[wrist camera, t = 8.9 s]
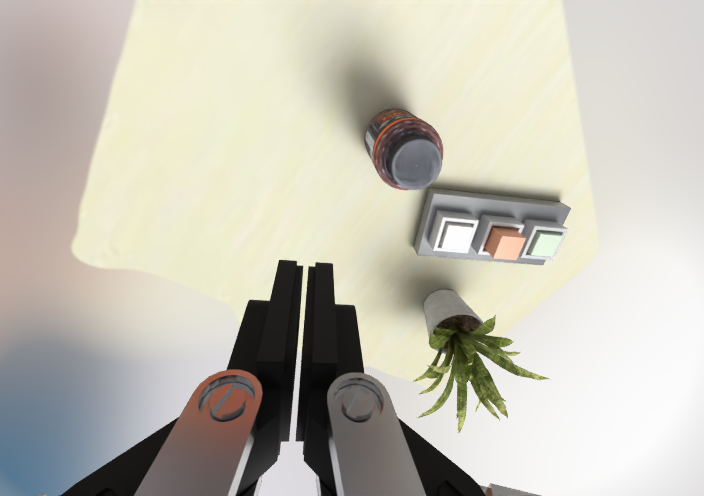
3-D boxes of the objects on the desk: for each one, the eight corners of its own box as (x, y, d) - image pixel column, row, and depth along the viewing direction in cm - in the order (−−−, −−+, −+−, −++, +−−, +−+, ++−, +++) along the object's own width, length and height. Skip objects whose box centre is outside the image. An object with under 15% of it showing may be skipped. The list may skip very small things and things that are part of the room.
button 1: (441, 216, 37) (448, 225, 35) (464, 218, 38) (473, 227, 36) (435, 237, 39) (442, 247, 37) (457, 239, 39) (465, 249, 37)
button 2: (491, 226, 37) (502, 236, 35) (514, 228, 37) (526, 238, 35) (483, 247, 38) (493, 258, 36) (505, 249, 39) (516, 260, 36)
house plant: (365, 320, 47) (383, 431, 33) (419, 246, 41) (469, 339, 27) (442, 349, 51) (488, 458, 37) (500, 285, 46) (581, 384, 32)
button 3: (528, 224, 39) (540, 234, 37) (549, 226, 39) (562, 236, 37) (519, 245, 40) (530, 255, 38) (540, 246, 41) (552, 257, 38)
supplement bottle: (413, 99, 33) (451, 113, 23) (423, 156, 36) (461, 189, 26) (357, 117, 33) (371, 139, 24) (371, 172, 36) (389, 211, 26)
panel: (428, 187, 38) (439, 200, 34) (560, 202, 40) (583, 214, 37) (413, 247, 42) (421, 263, 38) (534, 257, 44) (552, 273, 40)
